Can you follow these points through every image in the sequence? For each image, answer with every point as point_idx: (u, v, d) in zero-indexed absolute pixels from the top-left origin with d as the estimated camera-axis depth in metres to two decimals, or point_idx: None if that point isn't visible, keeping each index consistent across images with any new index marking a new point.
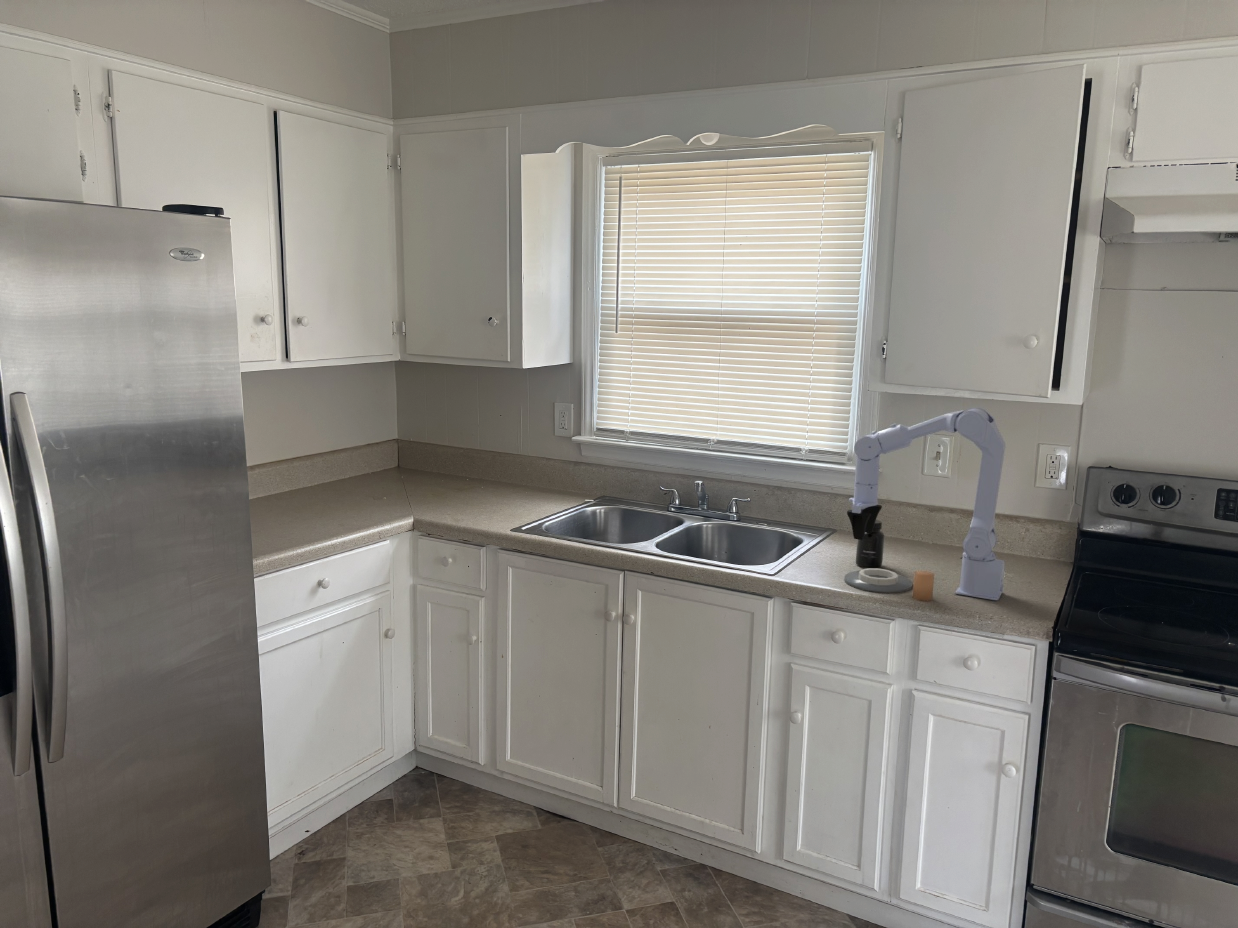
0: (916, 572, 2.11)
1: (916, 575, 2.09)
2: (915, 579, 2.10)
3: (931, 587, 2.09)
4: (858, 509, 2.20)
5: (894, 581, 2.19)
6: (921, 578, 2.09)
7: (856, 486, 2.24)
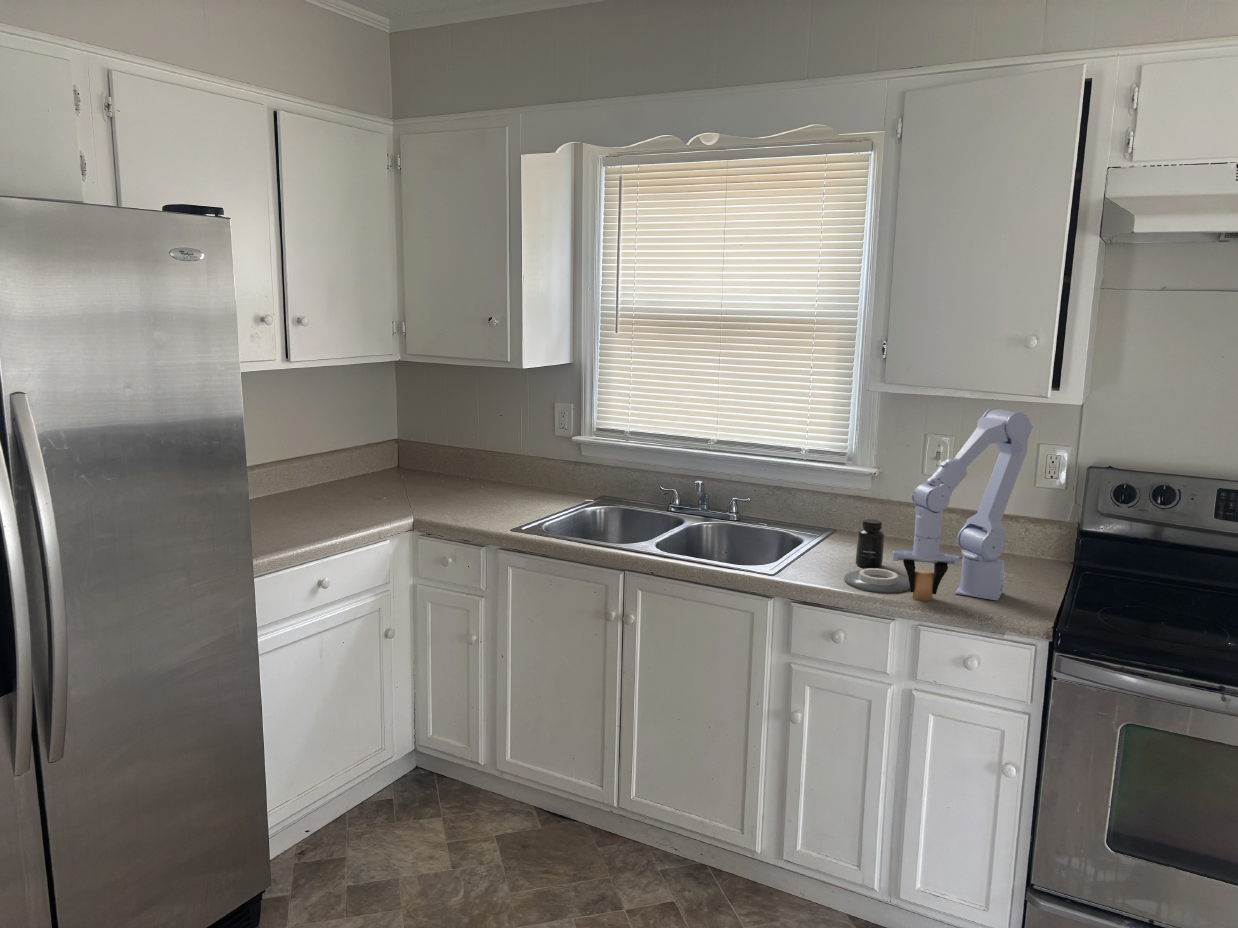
0: (916, 572, 2.11)
1: (916, 575, 2.09)
2: (915, 579, 2.10)
3: (931, 587, 2.09)
4: (893, 556, 2.10)
5: (894, 581, 2.19)
6: (921, 578, 2.09)
7: None
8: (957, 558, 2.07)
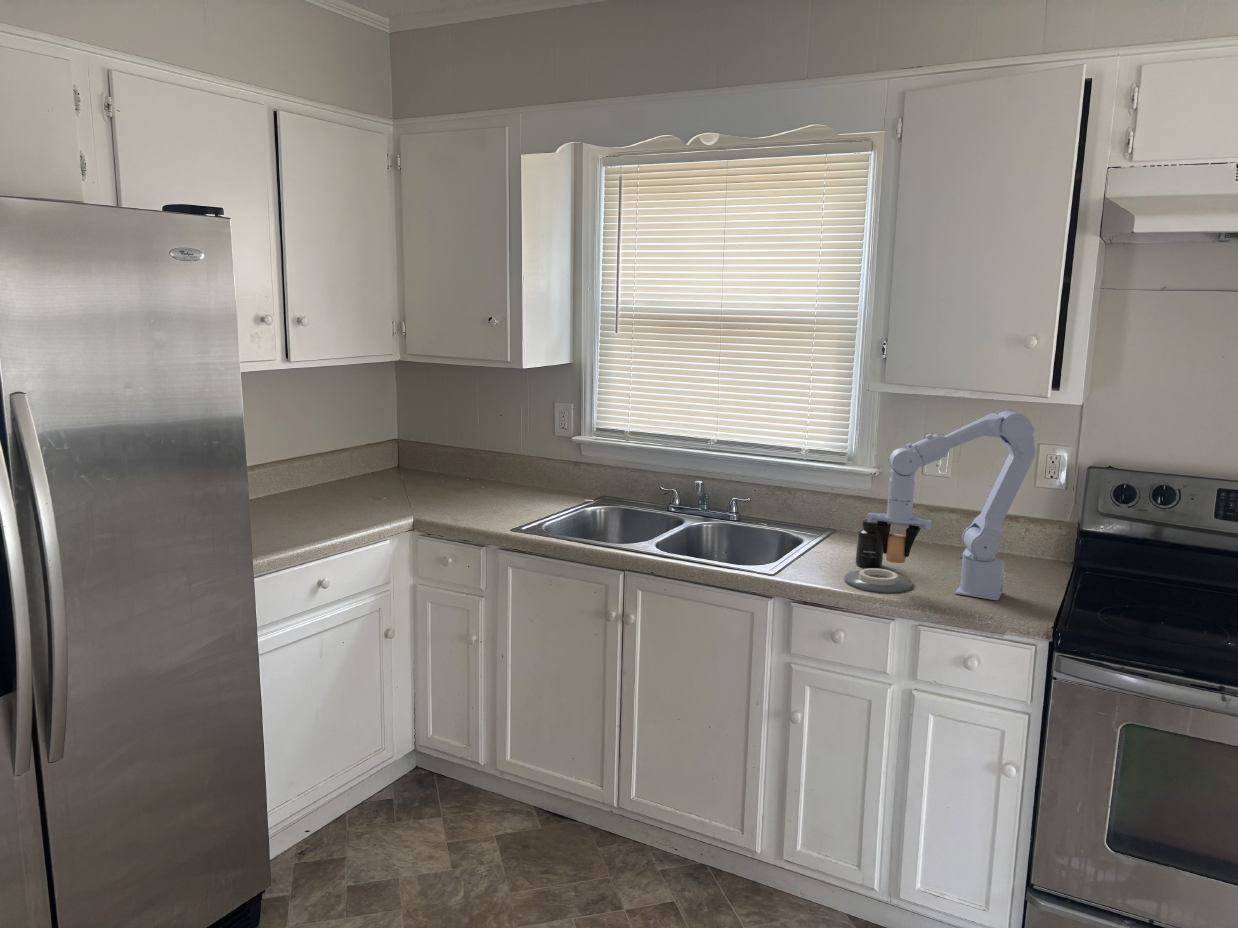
0: (890, 534, 2.17)
1: (888, 537, 2.15)
2: (888, 541, 2.16)
3: (902, 550, 2.14)
4: None
5: (894, 581, 2.19)
6: (891, 540, 2.14)
7: None
8: (927, 522, 2.11)
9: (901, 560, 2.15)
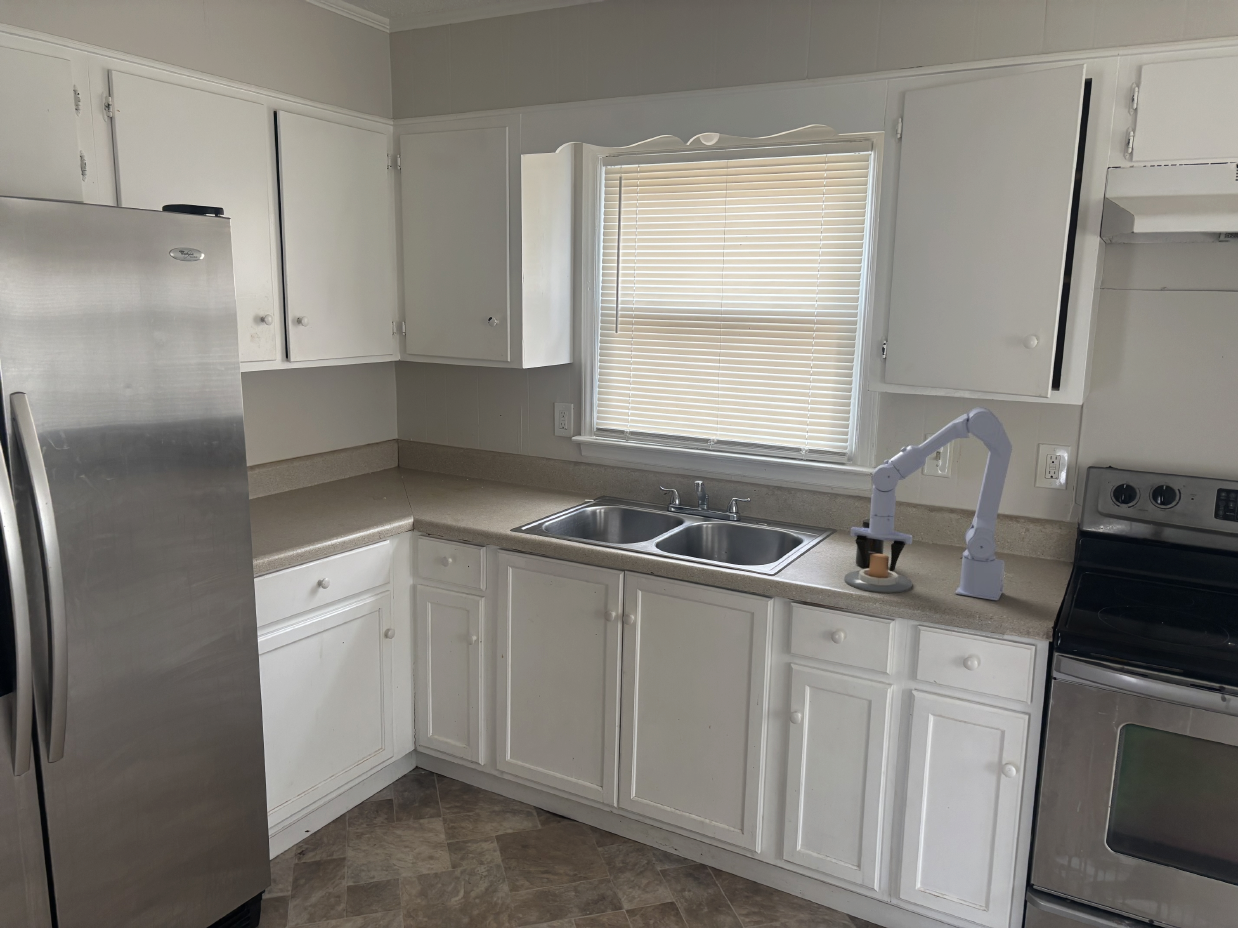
0: (872, 554, 2.22)
1: (870, 557, 2.21)
2: (870, 561, 2.21)
3: (884, 569, 2.19)
4: None
5: (894, 581, 2.19)
6: (873, 560, 2.20)
7: None
8: (908, 537, 2.16)
9: None
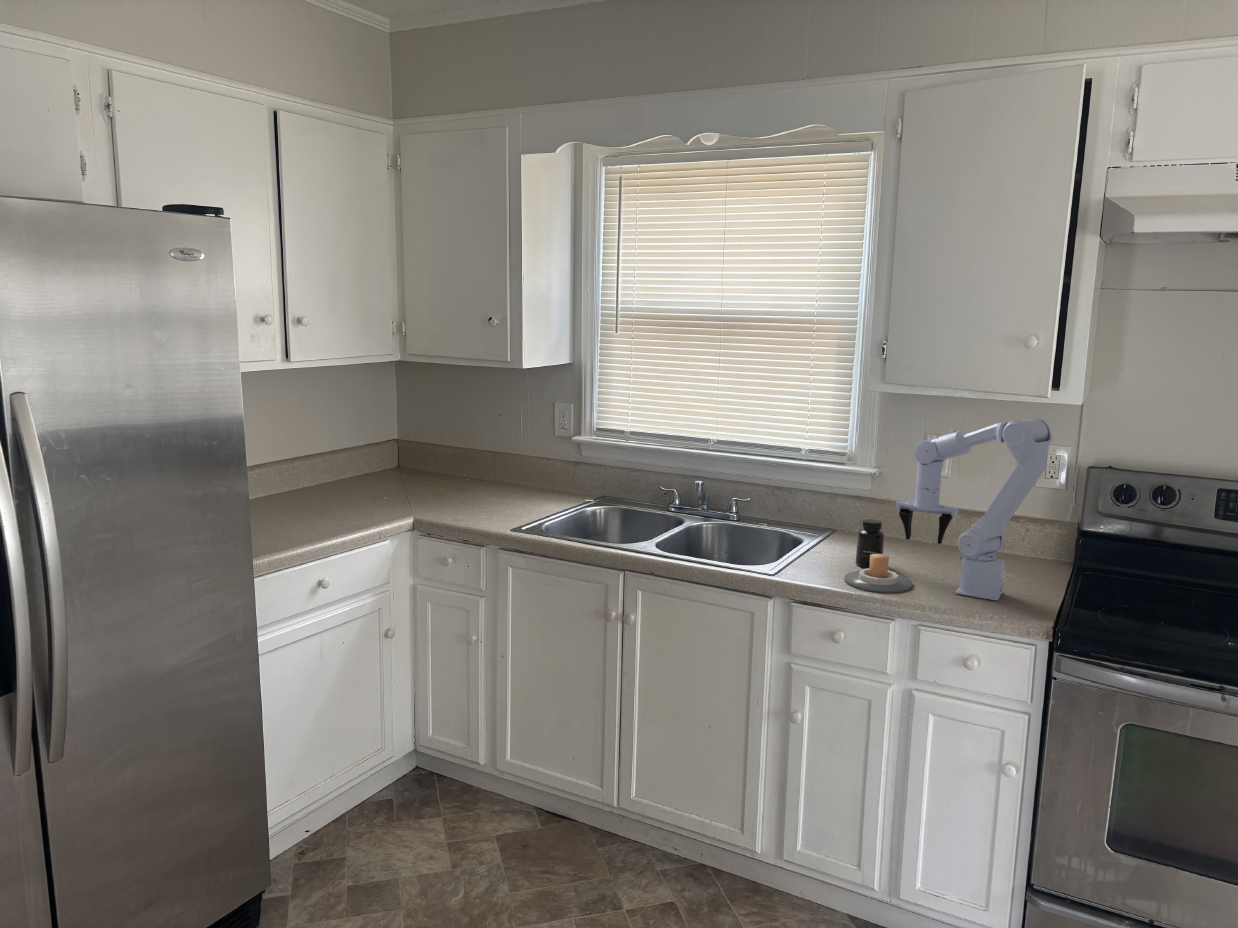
0: (872, 554, 2.22)
1: (870, 557, 2.21)
2: (870, 561, 2.21)
3: (884, 569, 2.19)
4: None
5: (894, 581, 2.19)
6: (873, 560, 2.20)
7: None
8: (954, 510, 2.20)
9: None
